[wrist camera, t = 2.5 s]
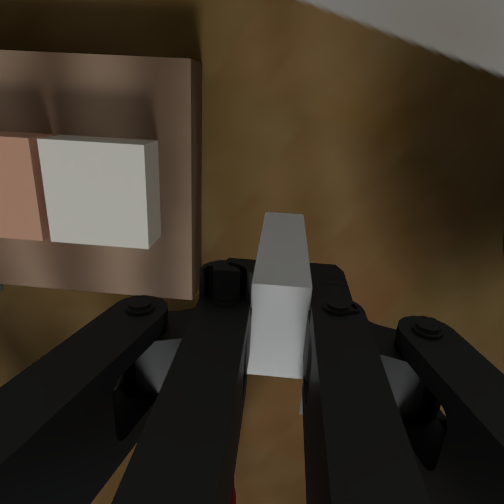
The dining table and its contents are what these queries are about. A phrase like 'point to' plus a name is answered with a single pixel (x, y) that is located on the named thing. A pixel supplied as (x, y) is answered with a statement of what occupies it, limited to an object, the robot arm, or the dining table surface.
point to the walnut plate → (114, 126)
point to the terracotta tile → (22, 188)
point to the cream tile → (101, 190)
